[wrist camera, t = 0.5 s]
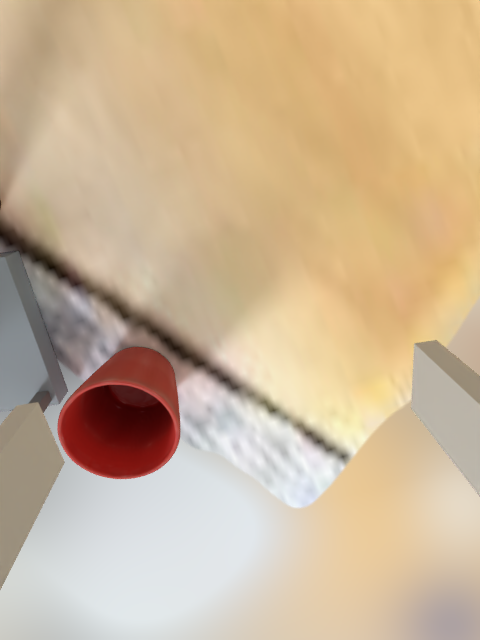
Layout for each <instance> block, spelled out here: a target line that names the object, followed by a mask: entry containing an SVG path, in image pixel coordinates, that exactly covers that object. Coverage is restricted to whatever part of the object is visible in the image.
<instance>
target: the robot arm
mask: <svg viewBox="0 0 480 640" xmlns="http://www.w3.org/2000/svg"><path fill="white" fill-rule="evenodd" d="M411 409H412V410H413V411H414V413H415V414H416V415H417V417H418V418H419V419H420V421H421V422H422V423H423V424H424V426H425V427H426V428H427V430H428V431H429V432H430V433H431V435H432V436H433V437H434V439H435V440H436V441H437V442H438V444H439V445H440V446H441V448H442V449H443V450H444V451H445V453H446V454H447V455H448V456H449V458H450V459H451V460H452V462H453V463H454V464H455V465H456V467H457V468H458V469H459V471H460V472H461V473H462V474H463V476H464V477H465V478H466V479H467V481H468V482H469V483H470V485H471V486H472V487H473V488H474V490H475V491H476V492H477V494H478V495H479V496H480V376H479V375H478V374H477V373H475V372H474V371H473V370H472V369H471V368H470V367H468V366H467V365H466V364H465V363H463V362H462V361H461V360H460V359H459V358H457V357H456V356H455V355H454V354H452V353H451V352H450V351H449V350H448V349H446V348H445V347H444V346H443V345H442V344H440V343H439V342H438V341H437V340H434V341H428V342H421V343H415V344H414V360H413V381H412V402H411ZM63 465H64V460H63V458H62V455H61V453H60V451H59V448H58V446H57V444H56V441H55V439H54V437H53V435H52V432H51V430H50V428H49V426H48V423H47V421H46V419H45V416H44V414H43V412H42V409H41V407H40V405H39V403H38V402H36V403H30V404H23V405H17V406H16V407H15V408H14V409H13V410H12V412H11V413H10V414H9V415H8V417H7V418H6V419H5V420H4V421H3V423H2V424H1V425H0V590H1V588H2V586H3V584H4V582H5V580H6V578H7V576H8V574H9V571H10V570H11V568H12V566H13V564H14V562H15V560H16V558H17V556H18V554H19V552H20V550H21V548H22V546H23V544H24V542H25V540H26V538H27V536H28V534H29V532H30V530H31V528H32V526H33V524H34V522H35V520H36V518H37V516H38V514H39V512H40V510H41V508H42V506H43V504H44V502H45V500H46V498H47V496H48V494H49V492H50V490H51V488H52V486H53V484H54V482H55V480H56V478H57V477H58V475H59V473H60V471H61V468H62V466H63Z"/></svg>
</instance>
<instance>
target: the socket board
mask: <svg viewBox="0 0 480 640" xmlns="http://www.w3.org/2000/svg"><path fill="white" fill-rule="evenodd" d="M67 392H68V389H67V387H66V384H65V381H64V378H63V375H62V372H61V370H60V367H59V364H58V361H57V358H56V355H55V353H54V350H53V347H52V344H51V341H50V338H49V336H48V333H47V330H46V327H45V324H44V322H43V319H42V316H41V313H40V310H39V307H38V305H37V302H36V299H35V296H34V293H33V290H32V288H31V285H30V282H29V279H28V276H27V274H26V271H25V268H24V265H23V262H22V259H21V257H20V254H19V251H14V252H6V253H0V412H3V411H11V410H13V409H14V408H15V407H16V406H17V405H23V404H30V403H36V402H38V403H39V405H40V407H41V409H42V412H43V413H44V411H45V409H46V408H47V406H49V405H57V404H60V402H61V401H62V399H63V398H64V396H65V395H66V393H67Z"/></svg>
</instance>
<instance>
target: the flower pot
mask: <svg viewBox="0 0 480 640" xmlns="http://www.w3.org/2000/svg"><path fill="white" fill-rule="evenodd" d="M58 435H59V440H60V442H61V445H62V446H63V448H64V450H65V452H66V453H67V455H68V456H69V457H70V458H71V459H72V460H73V461H74V462H75V463H76V464H77V465H79V466H80V467H82V468H83V469H85V470H87V471H89V472H91V473H93V474H96V475H99V476H103V477H107V478H113V479H131V478H137V477H141V476H145V475H147V474H150V473H152V472H155V471H156V470H158V469H159V468H161V467H162V466H164V465H165V464H166V463H167V462H168V461H169V460H170V458H171V457H172V456H173V454H174V453H175V451H176V449H177V446H178V443H179V440H180V415H179V403H178V393H177V386H176V380H175V373H174V370H173V368H172V366H171V364H170V363H169V361H168V360H167V359H166V358H165V357H164V356H162V355H161V354H160V353H158V352H156V351H154V350H152V349H149V348H144V347H131V348H127V349H124V350H121V351H119V352H118V353H116V354H115V355H114V356H112V357H111V358H110V359H109V360H108V361H107V362H106V363H105V364H103V365H102V366H101V367H100V368H99V369H98V370H97V371H96V372H95V373H94V374H93V375H92V376H90V377H89V378H88V379H87V380H86V381H85V382H84V383H83V384H82V385H81V386H80V387H79V388H78V389H77V390H76V391H75V392H74V393H73V394H72V395H71V396H70V398H69V399H68V400H67V401H66V403H65V404H64V406H63V408H62V410H61V412H60V415H59V419H58Z"/></svg>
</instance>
